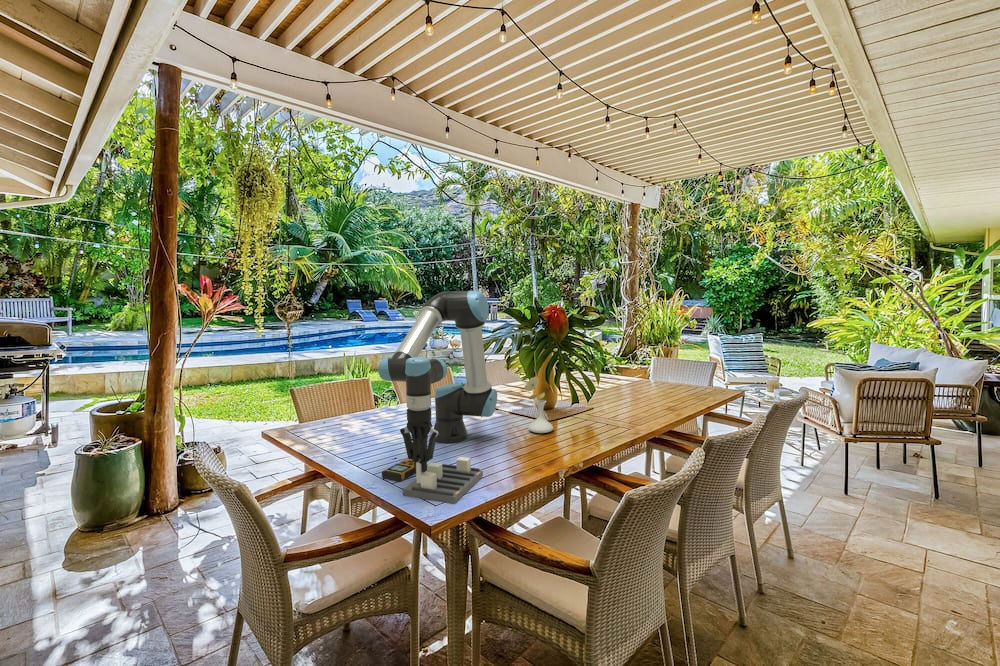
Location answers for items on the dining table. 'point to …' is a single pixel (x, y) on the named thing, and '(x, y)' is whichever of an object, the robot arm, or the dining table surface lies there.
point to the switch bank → (446, 485)
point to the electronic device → (399, 471)
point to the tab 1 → (435, 469)
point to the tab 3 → (463, 464)
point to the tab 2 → (429, 480)
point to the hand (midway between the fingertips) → (420, 481)
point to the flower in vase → (540, 423)
